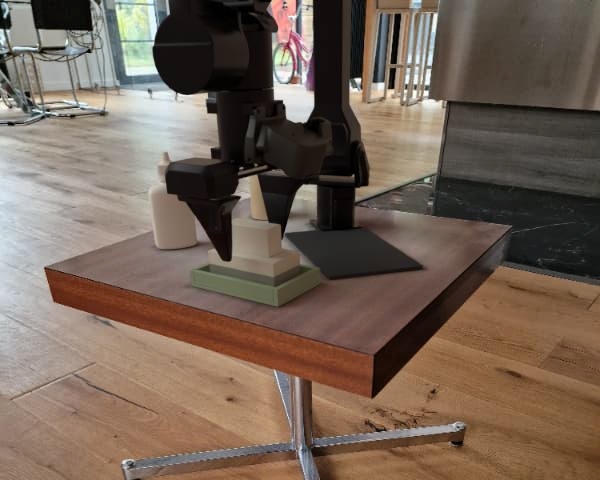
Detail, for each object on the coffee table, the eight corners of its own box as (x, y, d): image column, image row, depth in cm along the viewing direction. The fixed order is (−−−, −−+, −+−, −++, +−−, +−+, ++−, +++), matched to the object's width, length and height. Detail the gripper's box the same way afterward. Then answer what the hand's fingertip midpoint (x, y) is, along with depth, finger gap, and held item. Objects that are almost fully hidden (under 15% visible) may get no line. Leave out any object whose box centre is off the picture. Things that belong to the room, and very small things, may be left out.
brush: (210, 280, 65) (205, 223, 62) (238, 268, 69) (234, 213, 65) (274, 295, 61) (272, 234, 57) (300, 281, 64) (299, 223, 61)
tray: (191, 286, 65) (189, 269, 64) (236, 266, 71) (235, 251, 70) (278, 307, 59) (277, 289, 58) (320, 283, 65) (320, 267, 64)
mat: (284, 235, 82) (284, 232, 82) (362, 228, 85) (362, 225, 85) (329, 279, 66) (329, 276, 66) (423, 268, 69) (423, 265, 69)
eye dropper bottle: (161, 241, 81) (148, 149, 75) (200, 241, 80) (190, 149, 74) (152, 250, 77) (137, 154, 71) (192, 250, 77) (181, 154, 70)
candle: (264, 211, 96) (261, 146, 90) (291, 214, 93) (290, 148, 88) (244, 218, 92) (240, 151, 86) (273, 222, 89) (270, 153, 84)
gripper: (250, 96, 44) (260, 288, 52) (364, 85, 57) (358, 240, 65) (149, 94, 50) (173, 268, 58) (275, 84, 63) (280, 227, 71)
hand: (253, 250), depth 63 cm, fingers open, 9 cm apart
